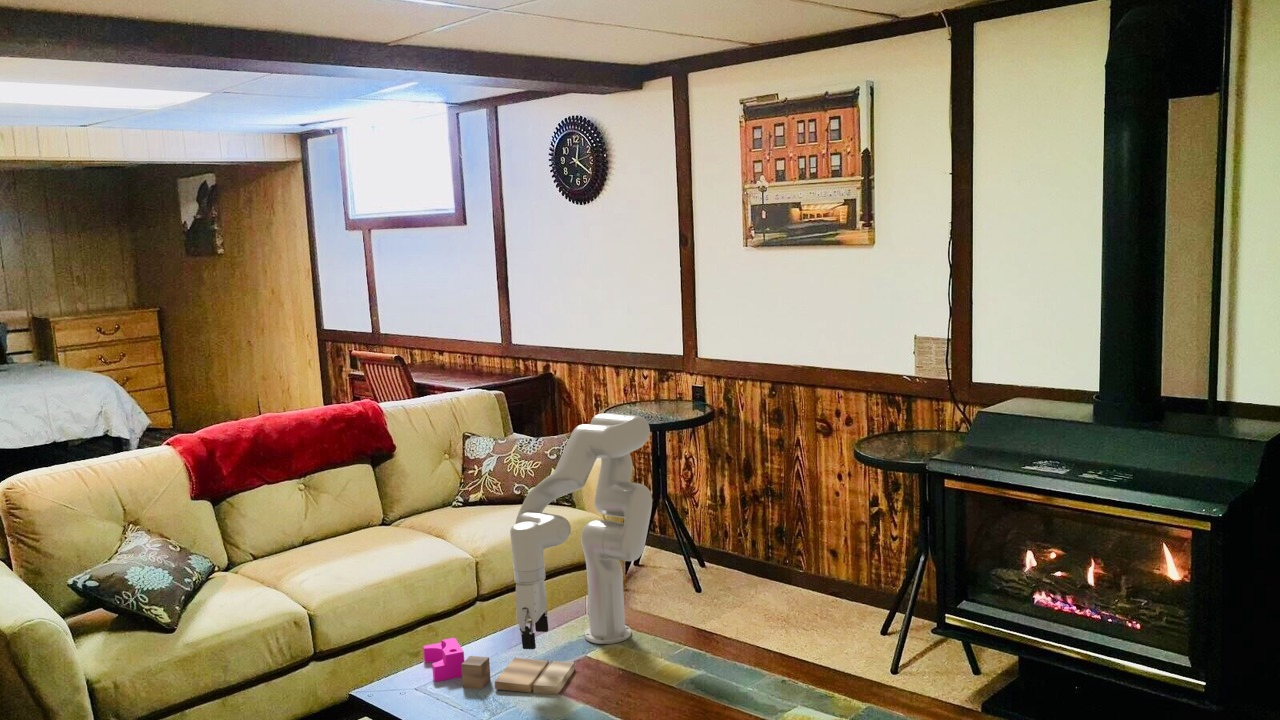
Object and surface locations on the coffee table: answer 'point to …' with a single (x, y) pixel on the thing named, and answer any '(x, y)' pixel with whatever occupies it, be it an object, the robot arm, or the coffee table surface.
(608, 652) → the coffee table surface
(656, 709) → the coffee table surface
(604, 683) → the coffee table surface
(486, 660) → the walnut block
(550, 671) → the laid board
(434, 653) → the toy block
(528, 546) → the robot arm
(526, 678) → the plank
